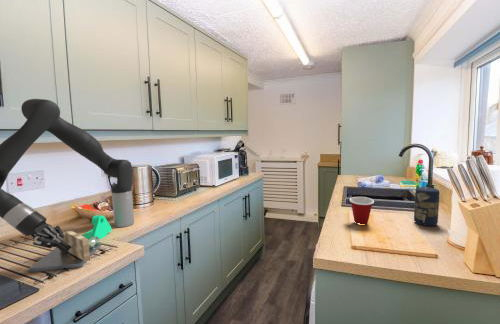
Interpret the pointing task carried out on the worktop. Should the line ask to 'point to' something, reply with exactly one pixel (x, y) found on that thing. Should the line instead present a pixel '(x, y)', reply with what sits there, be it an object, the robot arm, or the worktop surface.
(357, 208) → the plastic cup
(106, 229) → the camera mount
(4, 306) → the worktop surface
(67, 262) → the levelling base
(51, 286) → the worktop surface
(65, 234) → the zigzag patterned block
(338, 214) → the worktop surface
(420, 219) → the canister
